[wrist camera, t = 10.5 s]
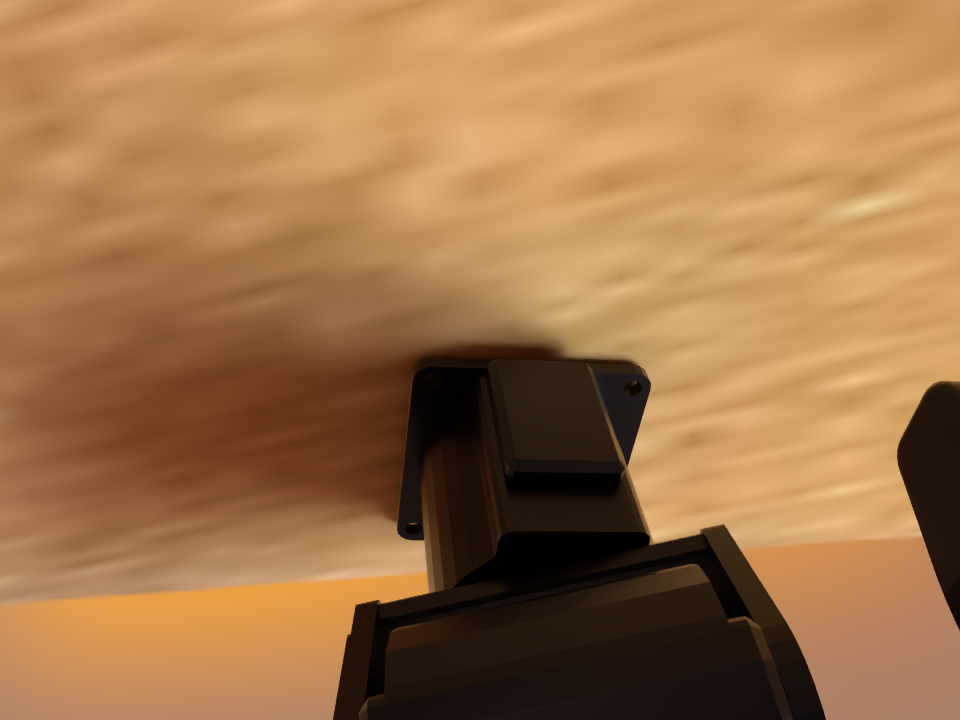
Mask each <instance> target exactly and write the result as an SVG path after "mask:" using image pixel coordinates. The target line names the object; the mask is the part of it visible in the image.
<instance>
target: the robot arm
mask: <svg viewBox="0 0 960 720" xmlns="http://www.w3.org/2000/svg"><path fill="white" fill-rule="evenodd" d="M429 374H435V375H438V376H439V377H438V378H436V379H435V380H426V379H424V377H425V376H427V375H429ZM632 381H637V383H636V384H635V385H633V386H630V387H625V385H626V384H627V383H629V382H632ZM650 389H651V383H650V380H649V378H648V376H647V374H646V372H645V370H644V369H643V368H641V367H640V366H636V365H621V364H594V363H585V362H572V361H546V360H519V359H497V360H488V359H461V358H434V357H432V358H425V359H423V360H421V361H419V362H418V363H417V364H416V365H415V366H414V368H413V370H412V376H411V386H410V395H409V405H408V414H407V424H406V433H405V443H404V453H403V462H402V472H401V481H400V491H399V500H398V510H397V531H398V534H399V535H400V536H401V537H403V538H405V539H407V540H424V542H425V554H426V566H427V578H428V590H429V593H428V594H423V595H419V596H414V597H409V598H405V599H401V600H396V601H391V602H387V603H382V604H381V603H380V601H379V600H376V601H372V602H367V603H362V604H358V605H356V607H355V613H354V618H353V625H352V630H351V634H349V635H348V636H347V641H346V647H345V653H344V659H343V664H342V670H341V676H340V682H339V687H338V693H337V699H336V705H335V711H334V717H333V720H826V718H825V715H824V711H823V708H822V705H821V702H820V699H819V696H818V693H817V690H816V687H815V684H814V681H813V679H812V676H811V673H810V671H809V668H808V666H807V663H806V660H805V658H804V656H803V654H802V652H801V649H800V647H799V645H798V643H797V641H796V639H795V637H794V635H793V633H792V631H791V630H790V628H789V626H788V624H787V623H786V621H785V619H784V618H783V617H782V615H781V613H780V612H779V610H778V609H777V607H776V605H775V604H774V602H773V601H772V599H771V597H770V596H769V594H768V593H767V591H766V590H765V588H764V586H763V585H762V583H761V582H760V581H759V579H758V577H757V576H756V574H755V572H754V571H753V569H752V568H751V566H750V564H749V563H748V561H747V560H746V558H745V557H744V555H743V553H742V552H741V550H740V549H739V547H738V546H737V544H736V542H735V541H734V539H733V538H732V536H731V535H730V533H729V531H728V530H727V528H726V527H725V525H724V524H723V525H718V526H713V527H709V528H704V529H701V530H700V534H697V535H692V536H688V537H683V538H679V539H674V540H669V541H665V542H660V543H656V544H654V543H653V540H652V537H651V534H650V531H649V528H648V526H647V523H646V520H645V517H644V514H643V511H642V508H641V505H640V503H639V500H638V497H637V494H636V491H635V488H634V485H633V482H632V480H631V477H630V474H629V471H628V468H627V466H628V463H629V460H630V456H631V453H632V450H633V446H634V443H635V440H636V436H637V433H638V429H639V426H640V423H641V419H642V416H643V413H644V409H645V406H646V402H647V399H648V396H649V392H650ZM897 460H898V466H899V470H900V473H901V476H902V478H903V481H904V484H905V487H906V490H907V493H908V496H909V498H910V501H911V504H912V507H913V510H914V513H915V516H916V518H917V521H918V524H919V527H920V530H921V533H922V536H923V538H924V541H925V544H926V547H927V550H928V553H929V556H930V558H931V561H932V564H933V567H934V570H935V573H936V576H937V578H938V581H939V584H940V586H941V589H942V591H943V594H944V597H945V599H946V601H947V604H948V606H949V608H950V610H951V613H952V615H953V617H954V620H955V621H956V624H957V626H958V628H959V630H960V382H955V381H940V382H937V383H934V384H933V385H931V386H930V387H929V388H928V389H927V390H926V392H925V393H924V395H923V397H922V399H921V401H920V403H919V405H918V407H917V409H916V410H915V412H914V414H913V416H912V418H911V420H910V422H909V424H908V426H907V428H906V430H905V432H904V434H903V436H902V437H901V440H900V442H899V445H898V450H897ZM414 522H415V523H418V524H414V525H411V524H410V523H414Z"/></svg>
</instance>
